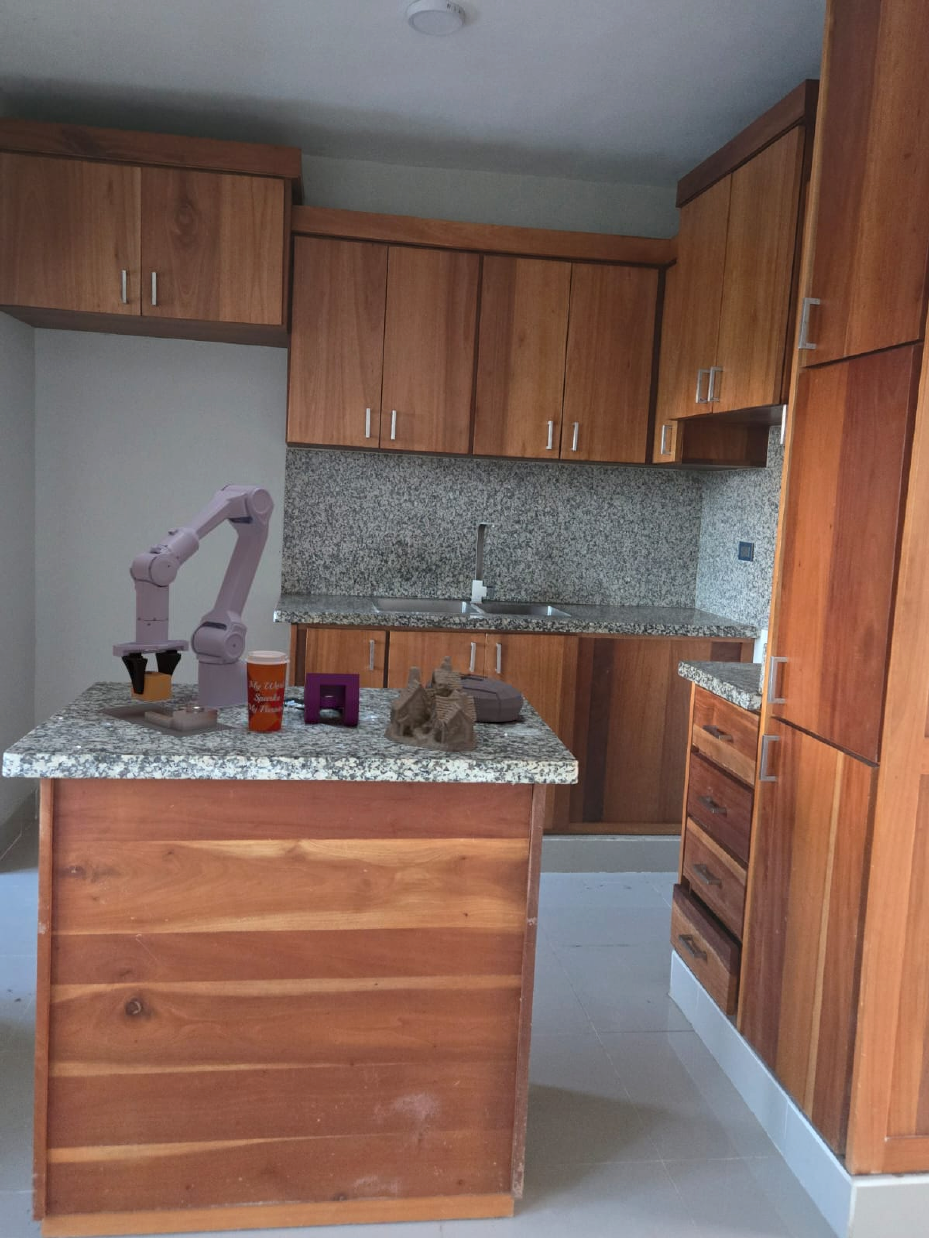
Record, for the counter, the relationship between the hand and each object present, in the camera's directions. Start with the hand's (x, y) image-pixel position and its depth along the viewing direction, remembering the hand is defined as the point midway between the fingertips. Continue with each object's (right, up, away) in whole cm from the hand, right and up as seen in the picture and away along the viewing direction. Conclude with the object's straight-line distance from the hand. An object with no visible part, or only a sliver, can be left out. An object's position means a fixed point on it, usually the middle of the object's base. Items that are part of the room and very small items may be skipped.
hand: (151, 692), depth 184 cm
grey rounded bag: (+60, -6, +17) cm, 62 cm away
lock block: (0, -1, 0) cm, 1 cm away
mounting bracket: (+32, -6, +8) cm, 33 cm away
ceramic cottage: (+52, -8, -6) cm, 53 cm away
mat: (+3, -5, -3) cm, 7 cm away
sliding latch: (+7, -5, -6) cm, 11 cm away
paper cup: (+22, -7, -6) cm, 24 cm away
